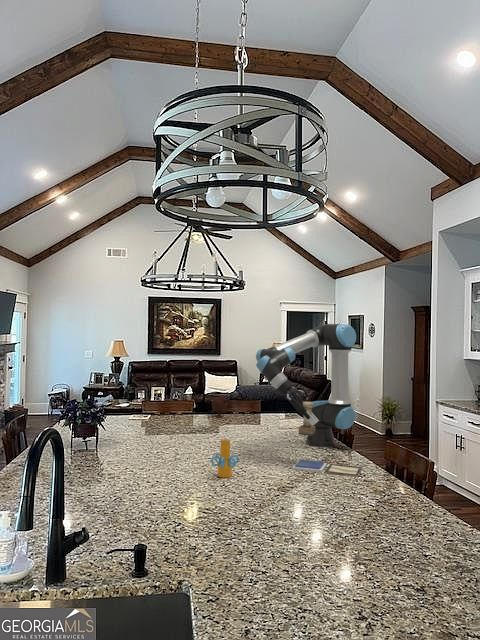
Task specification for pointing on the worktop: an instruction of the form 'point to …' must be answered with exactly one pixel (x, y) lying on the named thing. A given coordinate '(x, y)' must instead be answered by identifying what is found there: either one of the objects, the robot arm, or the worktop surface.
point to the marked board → (343, 470)
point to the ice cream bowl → (219, 405)
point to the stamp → (306, 427)
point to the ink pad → (310, 466)
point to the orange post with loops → (225, 460)
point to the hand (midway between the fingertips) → (315, 423)
